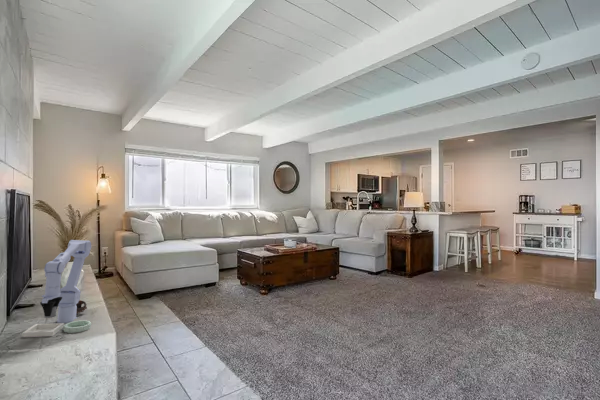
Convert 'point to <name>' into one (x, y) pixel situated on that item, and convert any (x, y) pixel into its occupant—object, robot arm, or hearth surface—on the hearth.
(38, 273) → the hearth surface
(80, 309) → the pottery mug
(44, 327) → the parts tray
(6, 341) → the hearth surface
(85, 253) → the robot arm
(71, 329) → the sage bowl
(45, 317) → the grey short cylinder
